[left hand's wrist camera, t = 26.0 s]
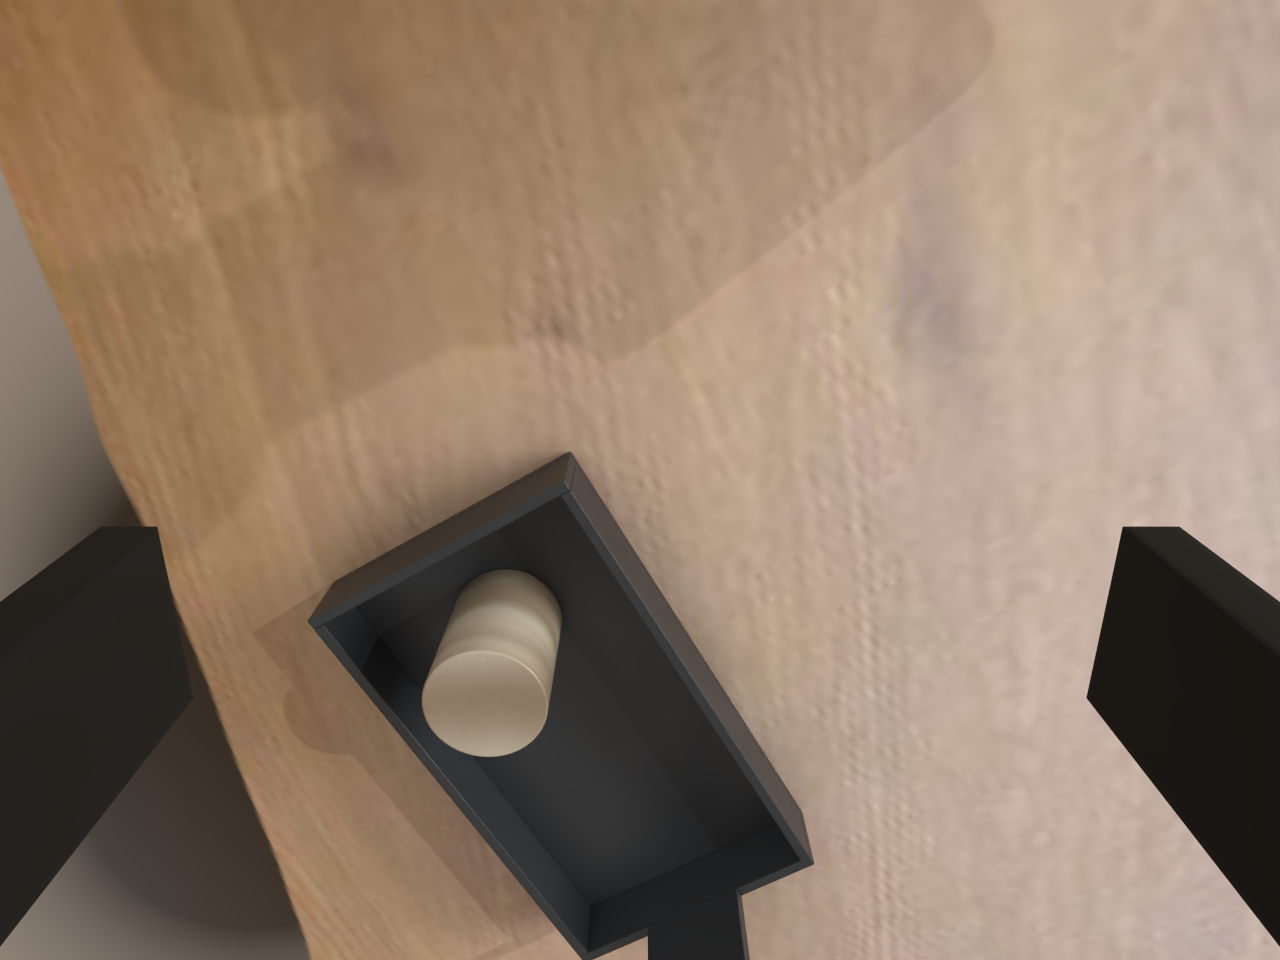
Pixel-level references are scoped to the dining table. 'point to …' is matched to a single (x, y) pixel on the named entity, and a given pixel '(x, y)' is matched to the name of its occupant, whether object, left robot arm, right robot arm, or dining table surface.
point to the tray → (584, 728)
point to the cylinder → (495, 665)
